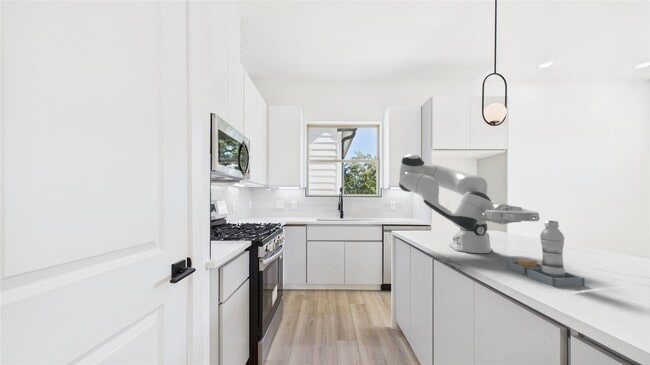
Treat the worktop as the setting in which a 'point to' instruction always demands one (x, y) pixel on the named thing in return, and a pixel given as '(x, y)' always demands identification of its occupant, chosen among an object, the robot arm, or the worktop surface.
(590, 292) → the worktop surface
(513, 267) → the blue-gray square tray
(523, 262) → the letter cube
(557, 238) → the plastic bottle
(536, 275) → the tray
